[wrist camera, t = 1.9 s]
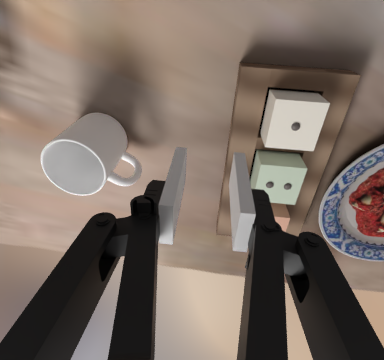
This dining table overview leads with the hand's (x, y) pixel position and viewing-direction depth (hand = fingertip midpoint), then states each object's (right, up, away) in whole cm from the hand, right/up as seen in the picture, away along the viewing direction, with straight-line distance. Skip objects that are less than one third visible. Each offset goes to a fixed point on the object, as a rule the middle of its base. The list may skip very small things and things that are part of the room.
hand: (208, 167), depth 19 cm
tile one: (+11, +8, +16) cm, 21 cm away
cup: (-14, +5, +23) cm, 27 cm away
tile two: (+11, +1, +20) cm, 23 cm away
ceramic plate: (+33, -4, +24) cm, 41 cm away
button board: (+11, +2, +22) cm, 25 cm away
